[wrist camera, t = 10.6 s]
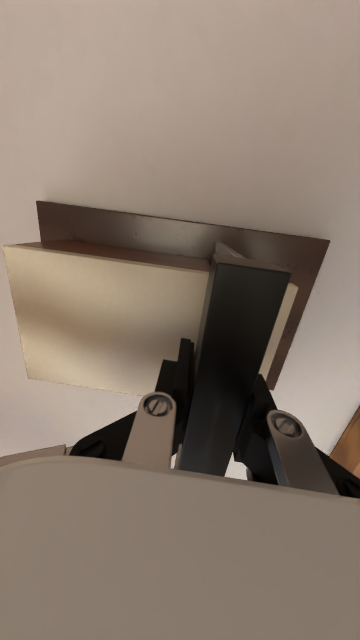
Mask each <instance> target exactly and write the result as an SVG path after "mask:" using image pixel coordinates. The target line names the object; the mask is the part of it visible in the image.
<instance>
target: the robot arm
mask: <svg viewBox="0 0 360 640" xmlns="http://www.w3.org/2000/svg"><path fill="white" fill-rule="evenodd" d="M193 361H194V342H191V339H186V338H181V341H180V347H179V354H178V360H177V361H171V360H165V359H163V361H162V365H161V369H160V372H159V376H158V380H157V384H156V388H155V391H154V392H152V393H149V394H147V395H145V396H144V397H143V398H142V399H141V401H140V404H139V407H138V410H137V411H135V412H133V413H131V414H129V415H127V416H125V417H123V418H121V419H119V420H117V421H115V422H113V423H112V424H110V425H108V426H106V427H104V428H102V429H100V430H98V431H96V432H94V433H92V434H90V435H88V436H86V437H84V438H82V439H81V440H79V441H78V442H77V443H76V444H75V445H74V446H71V447H66V444H64V445H59V446H54V447H49V448H44V449H39V450H34V451H28V452H23V453H18V454H13V455H8V456H3V457H0V640H360V479H359V478H358V477H356V476H355V475H354V474H352V473H351V472H349V471H348V470H347V469H345V468H344V467H343V466H341V465H340V464H338V463H337V462H336V461H334V460H333V459H331V458H330V457H329V456H327V455H326V454H325V453H323V452H322V451H320V450H319V449H318V448H316V447H315V446H314V444H313V442H312V440H311V439H310V437H309V435H308V433H307V431H306V429H305V427H304V426H303V424H302V423H301V422H300V421H299V420H298V419H297V418H296V417H294V416H293V415H292V414H290V413H287V412H285V411H281V410H278V409H277V407H276V405H275V402H274V400H273V398H272V395H271V393H270V391H269V389H268V386H267V384H266V382H265V379H264V377H263V375H262V374H258V377H257V380H256V383H255V386H254V389H253V392H252V395H251V398H250V401H249V404H248V407H247V410H246V413H245V416H244V419H243V422H242V425H241V428H240V431H239V434H238V437H237V440H236V443H235V446H234V449H233V455H234V461H236V462H242V463H243V464H244V465H245V466H246V467H247V468H246V474H247V480H248V481H247V480H241V479H235V478H228V477H222V476H216V475H209V474H203V473H197V472H190V471H184V470H177V469H171V468H170V467H171V457H172V456H173V455H174V454H176V453H177V452H178V449H179V444H182V442H183V437H184V432H185V426H186V421H187V416H188V410H189V405H190V400H191V394H192V382H193Z"/></svg>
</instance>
